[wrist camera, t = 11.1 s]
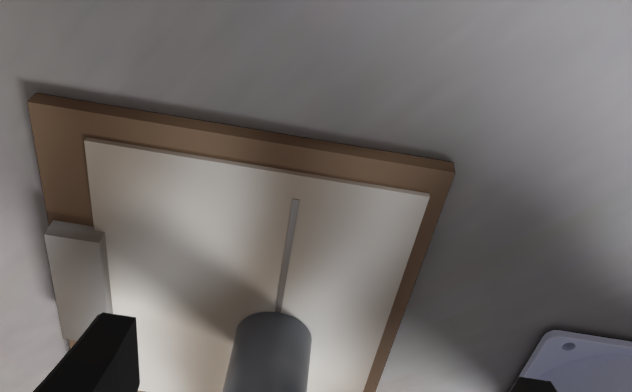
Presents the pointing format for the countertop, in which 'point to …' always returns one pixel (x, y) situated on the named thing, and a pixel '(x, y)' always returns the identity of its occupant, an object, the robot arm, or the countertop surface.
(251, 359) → the cylinder
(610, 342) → the robot arm
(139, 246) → the clipboard
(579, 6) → the countertop surface
